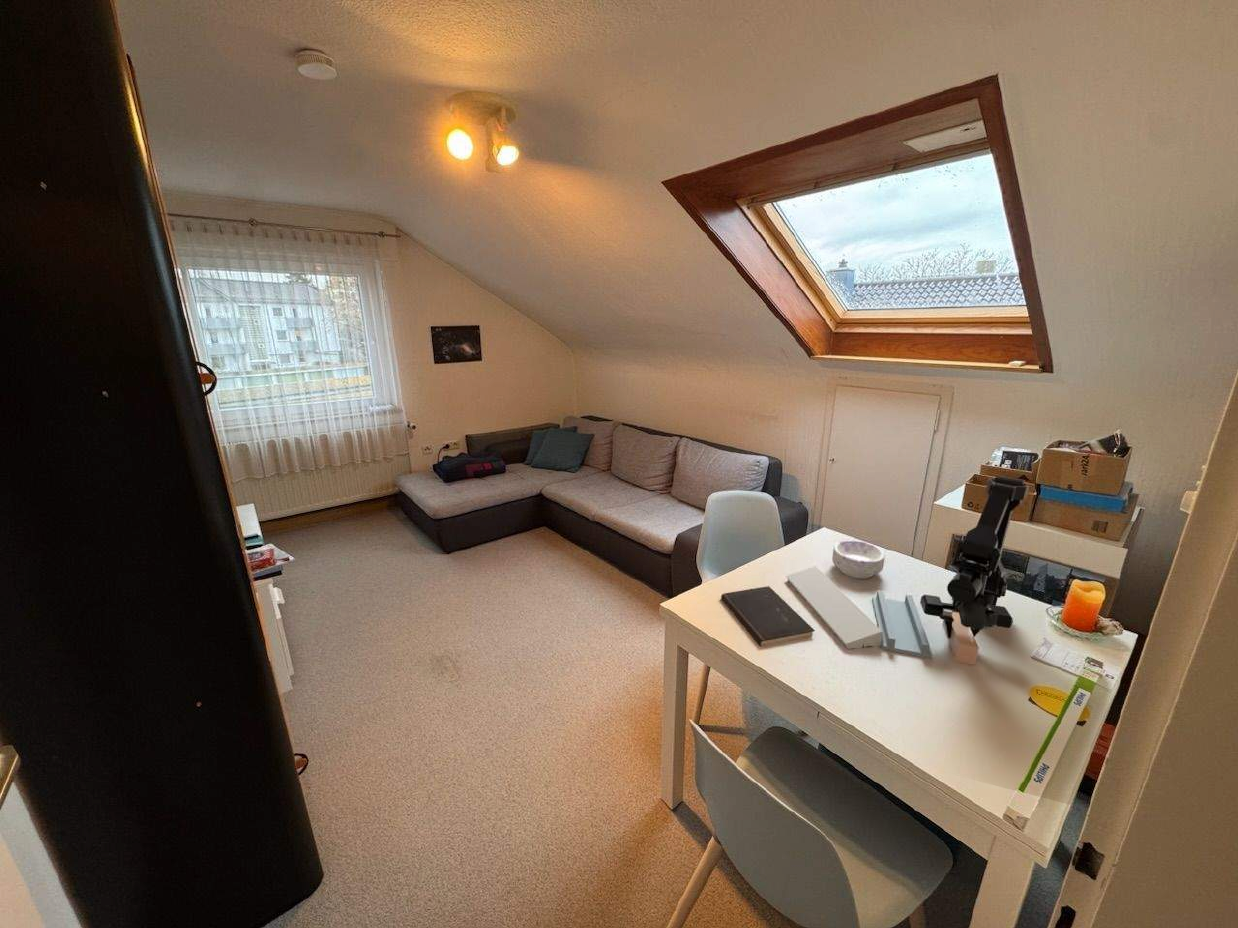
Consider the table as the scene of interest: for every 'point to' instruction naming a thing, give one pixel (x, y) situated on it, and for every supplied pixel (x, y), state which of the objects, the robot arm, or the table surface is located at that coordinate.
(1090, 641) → the table surface
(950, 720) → the table surface
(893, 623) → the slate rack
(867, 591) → the table surface
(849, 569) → the white purple speckled bowl
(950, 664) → the table surface
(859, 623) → the light grey long wedge
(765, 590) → the hardcover book
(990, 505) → the robot arm
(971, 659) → the clay strip
